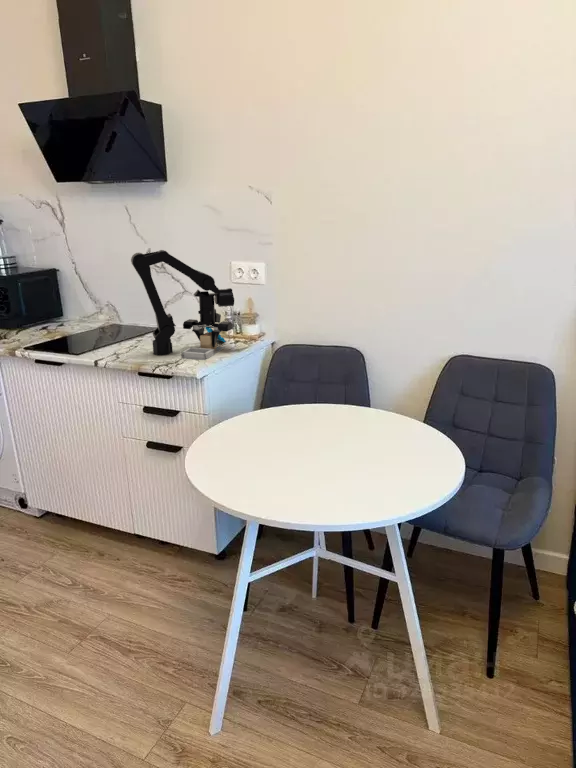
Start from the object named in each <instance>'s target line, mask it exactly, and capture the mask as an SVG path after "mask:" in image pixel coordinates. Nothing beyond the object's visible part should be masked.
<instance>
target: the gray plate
mask: <svg viewBox="0 0 576 768" xmlns="http://www.w3.org/2000/svg"><path fill="white" fill-rule="evenodd" d="M225 348H226V347H225V346H224V347H223V346H217V348H216V349H205V348H201V346H199V347H188V348H186V349H184V350H183V351H181V353H180V354H181V357H180V359H186V360H198V361H199V360H200V361H206V360H208V359H209V358H212V356H214V355H216V354H217V353H219V352H221V351H222V350H223V349H225Z"/></svg>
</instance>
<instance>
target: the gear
mask: <svg viewBox="0 0 576 768" xmlns="http://www.w3.org/2000/svg"><path fill="white" fill-rule="evenodd" d="M204 328H205V327H204ZM204 330H206V331H207V332H208V333H210V332H212V331H213V330H214V329H213V328H205V329H204ZM207 332H206V333H207ZM217 341H220V342H223V343H226V339H225V338H224V337H222V335H221V333H219V336H218V338H217Z"/></svg>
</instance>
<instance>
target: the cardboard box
mask: <svg viewBox="0 0 576 768" xmlns="http://www.w3.org/2000/svg"><path fill="white" fill-rule="evenodd" d="M199 342H200V343H199V344H200V346H199V347H201V348H205V349H216V348H217V347H218V346H217V341H216V344H215V347H213V346H212V333H211V332H210V333H209V332H204V334H203V335H201V336H200V341H199Z"/></svg>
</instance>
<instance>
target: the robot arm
mask: <svg viewBox="0 0 576 768" xmlns="http://www.w3.org/2000/svg"><path fill="white" fill-rule="evenodd" d="M130 262H131V265H132V266H133V268H134V270H135V271H136V273H137V275H138V276H139V278H140V279H141V283H142V284H143V286H144V290H145V291H146V294H147V296H148V299H149V302H150V305H151V307H152V309H153V312H154V314H155V316H154V317H155V322H156V328H155V329H154V330H153V332H152V333H151V334H152V337H153V338H154V339H153V340H152V351H153V352H152V353H153V355H155V356H158V357H159V356H167V355H171V354H172V353H173V350H174V349H173V343H172V339H171V338H172V337H173V336H174V334H175V332H176V328H175V327H177V325H176V323H174V319H173V315H171V313H167V312H166V310H165V308H164V306H163V303H162V300H161V298H160V295H159V292H158V289H157V287H156V285H155V282H154V280H153V278H152V277H153V276H152V272H151V266H153V265H157V264H160V263H165V264H166V265H168V266H170V267H171V268H173V269H174V270H176V271H178V272H179V273H181V274H183V275H184V276H186V277H188V278H189V279H190V280H191V281H192V282H193V283H194V284H195V285H196V286H198V287H199V288H200V289H202V290H203V291H200V289H197V290H196V291H195V292H194V293H193V297H196V298H197V297H198V302H199V310H198V314H199V321H198V319H193V318H191V319H186V320H184V322H182V327H183V328H182V329H184V330H185V329H186V330H190V329H191V332H194V334H195V335H196V338H198V341H199V342H200V336H201V335H203V334H205V330H206V329H205V328H211V329H212V330H213V331H212V332H211V333H212V346H213V347H215V344H216V342H217V341H218V339H217V338H218V336H219V334H221V333H222V332H225V333H226V332H229V331H231V330H233V329H234V328H233V326H234V325H233V324H234V323H232V321H221V317H222V315H221V314H220V313H217V309H216V308H215V305H217V306H218V307H220V308H223V307H234V305H235V297H234V293H233V289H232V288H223V289H222V288H221V289H219V287H217V285H216V280H215V278H214V277H213V276H211V275H210V274H208V273H205V272H203V271H199V270H198V269H194V268H193V267H191V266H189V265H188V264H186V263H185V262H183V261H181V260H180V259H178V258H176V257H175V256H173V255H172V254H170V253H169V252H167V250H164V249H160V250H158V251H151V252H146V253H142V252H136V253H133V254H132V256H131V257H130ZM209 291H211V292H212V293H211V292H209Z"/></svg>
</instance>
